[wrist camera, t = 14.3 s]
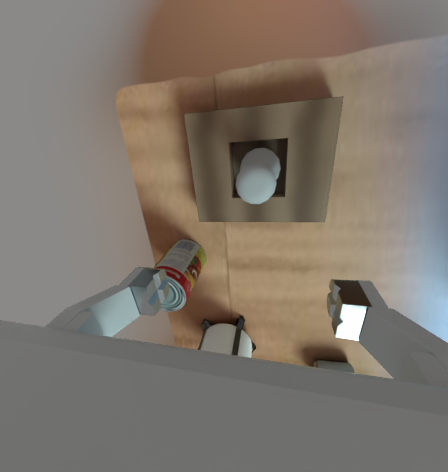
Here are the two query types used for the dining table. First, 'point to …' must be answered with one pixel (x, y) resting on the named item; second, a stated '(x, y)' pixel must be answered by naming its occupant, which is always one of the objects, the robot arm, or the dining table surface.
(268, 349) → the dining table surface
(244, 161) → the salt shaker
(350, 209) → the dining table surface
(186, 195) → the dining table surface
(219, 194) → the walnut holder
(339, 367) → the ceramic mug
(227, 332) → the coffee press
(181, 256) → the canned food
